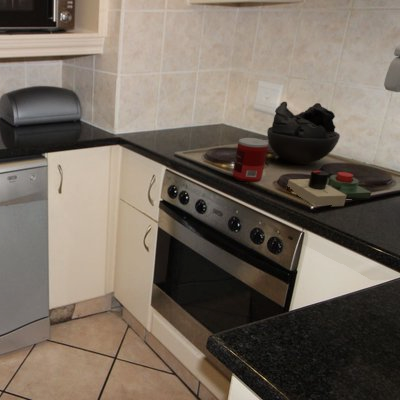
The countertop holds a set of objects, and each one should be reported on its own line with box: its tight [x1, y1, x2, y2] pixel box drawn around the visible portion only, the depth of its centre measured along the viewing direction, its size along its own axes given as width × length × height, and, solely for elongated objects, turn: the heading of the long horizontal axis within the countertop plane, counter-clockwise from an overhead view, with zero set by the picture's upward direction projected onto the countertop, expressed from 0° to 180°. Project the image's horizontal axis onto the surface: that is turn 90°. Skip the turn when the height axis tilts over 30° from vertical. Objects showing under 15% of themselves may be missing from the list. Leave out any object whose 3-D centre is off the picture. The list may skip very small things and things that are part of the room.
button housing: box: [327, 174, 372, 201], centre depth 128 cm, size 11×8×4 cm
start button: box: [336, 171, 354, 182], centre depth 127 cm, size 4×4×2 cm
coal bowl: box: [266, 101, 341, 165], centre depth 149 cm, size 20×20×19 cm
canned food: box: [232, 137, 269, 183], centre depth 137 cm, size 8×8×11 cm
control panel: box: [286, 178, 347, 207], centre depth 125 cm, size 12×8×3 cm
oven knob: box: [308, 169, 330, 190], centre depth 123 cm, size 4×4×4 cm
